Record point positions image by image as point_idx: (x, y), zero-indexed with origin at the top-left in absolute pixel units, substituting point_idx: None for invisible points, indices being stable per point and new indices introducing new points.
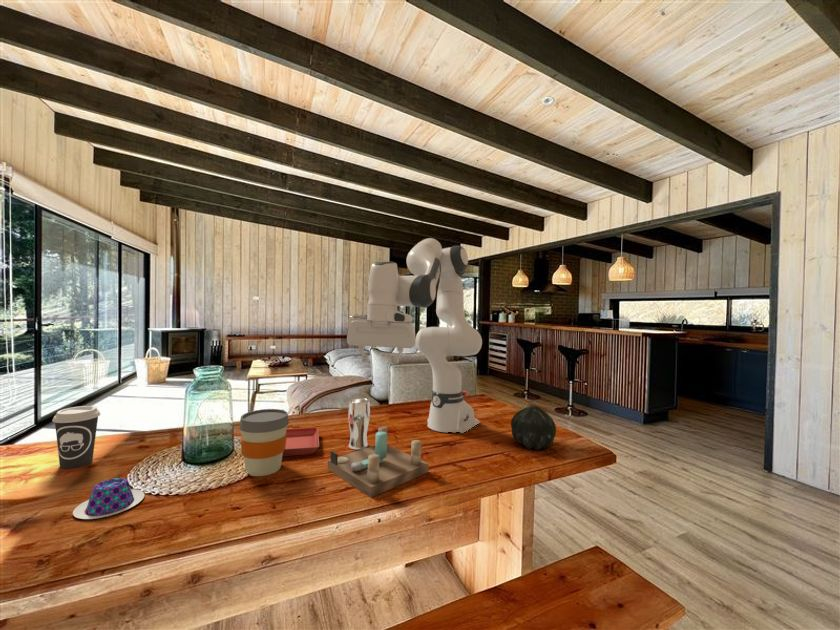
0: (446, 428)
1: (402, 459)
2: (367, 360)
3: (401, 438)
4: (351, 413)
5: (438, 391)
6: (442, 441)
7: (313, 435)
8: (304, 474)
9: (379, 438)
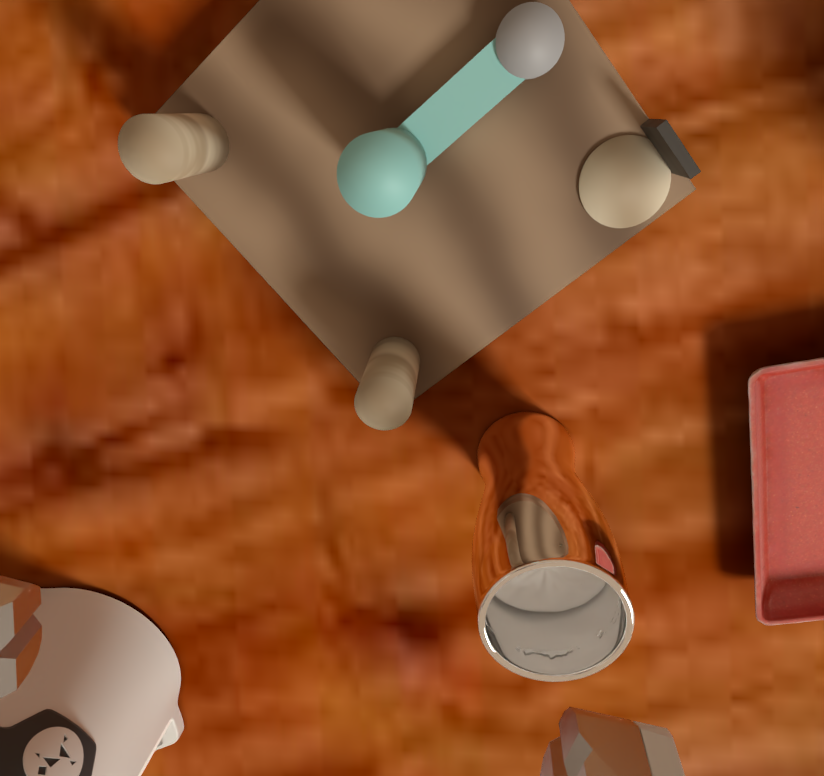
0: (72, 606)
1: (277, 191)
2: (550, 759)
3: (306, 536)
4: (600, 528)
5: None
6: (99, 493)
7: (767, 578)
8: (804, 121)
9: (391, 133)
